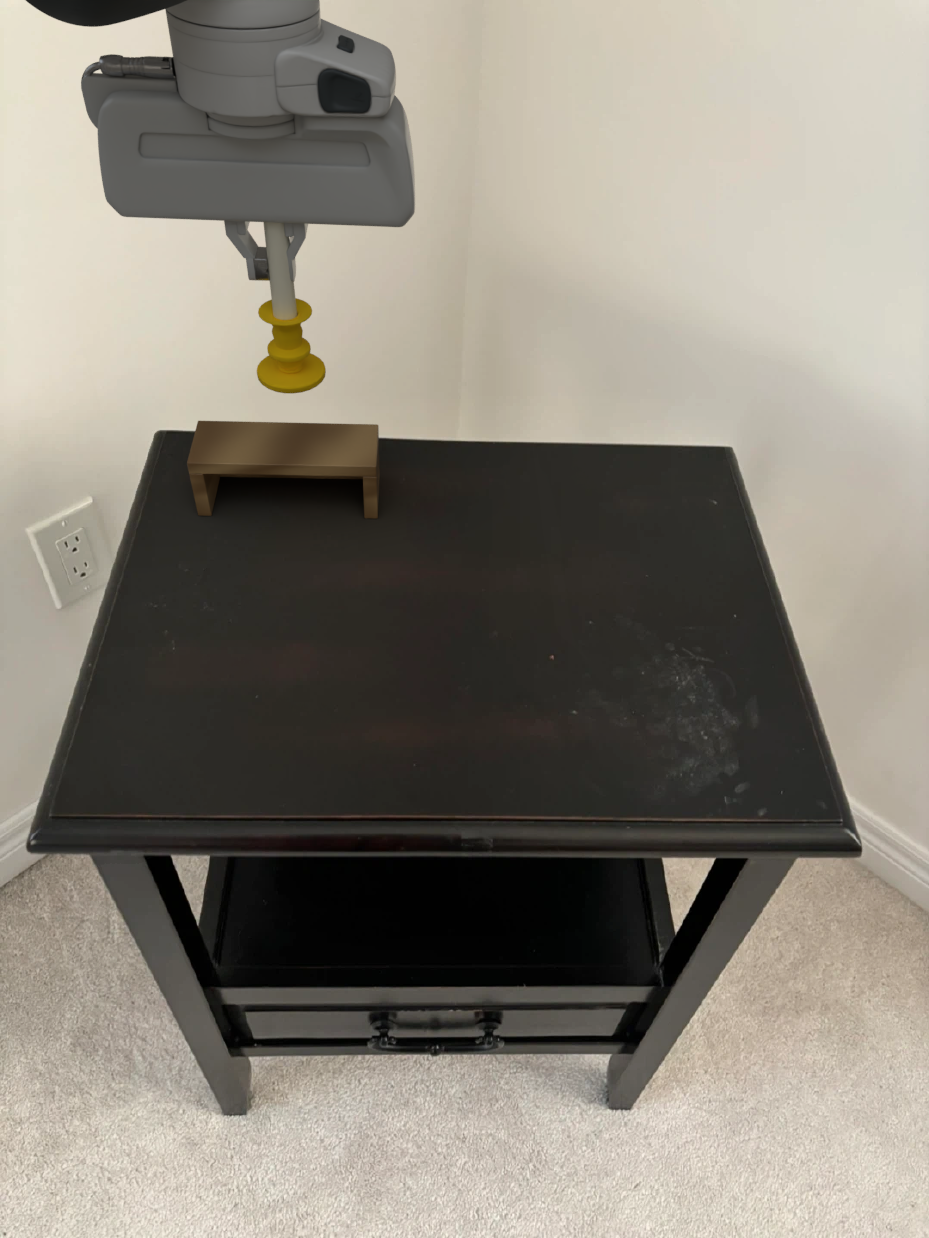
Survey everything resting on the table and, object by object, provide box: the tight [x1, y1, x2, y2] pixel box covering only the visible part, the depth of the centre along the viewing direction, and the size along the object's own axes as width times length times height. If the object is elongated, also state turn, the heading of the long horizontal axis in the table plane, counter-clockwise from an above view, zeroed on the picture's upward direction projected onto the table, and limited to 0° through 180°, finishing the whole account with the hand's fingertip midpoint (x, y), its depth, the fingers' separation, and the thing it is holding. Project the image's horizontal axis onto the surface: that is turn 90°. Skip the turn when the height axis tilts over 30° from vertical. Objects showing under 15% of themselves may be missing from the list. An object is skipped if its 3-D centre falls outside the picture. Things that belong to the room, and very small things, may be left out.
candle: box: [256, 222, 327, 394], centre depth 66 cm, size 5×5×16 cm
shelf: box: [186, 420, 381, 520], centre depth 83 cm, size 16×6×6 cm, turn 92°
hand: (273, 277), depth 66 cm, fingers closed on candle
